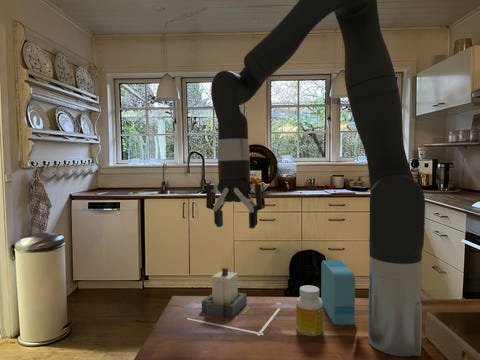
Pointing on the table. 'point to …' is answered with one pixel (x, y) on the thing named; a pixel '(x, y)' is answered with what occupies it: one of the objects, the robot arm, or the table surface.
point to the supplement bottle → (309, 311)
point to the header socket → (224, 306)
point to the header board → (241, 329)
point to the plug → (224, 287)
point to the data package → (338, 292)
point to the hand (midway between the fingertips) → (235, 227)
